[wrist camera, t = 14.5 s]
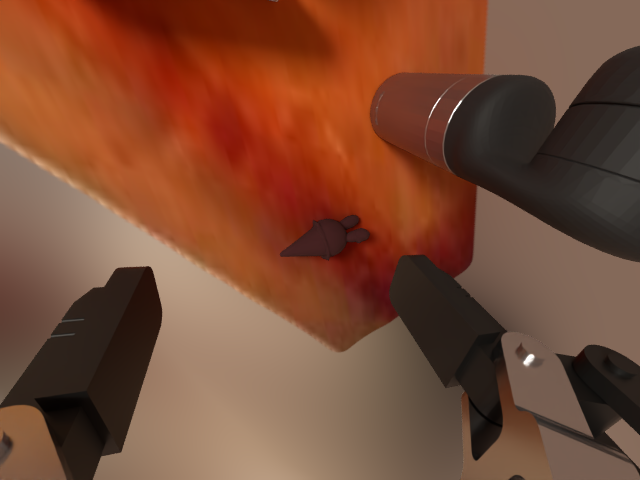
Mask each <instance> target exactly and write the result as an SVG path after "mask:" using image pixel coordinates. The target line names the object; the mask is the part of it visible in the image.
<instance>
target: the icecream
mask: <svg viewBox="0 0 640 480" xmlns="http://www.w3.org/2000/svg"><path fill="white" fill-rule="evenodd" d="M358 222H359V218H358V217H357V216H356V215H351V216H347V217H346V218H344V219H343V220H341V221H340V222H338V221H335V220H332V219H324V220H320V221H318V222H316V221H314V220H313V227H312V229H311V230H309V231H308V232H307V233H305V234H304V235H303V236H302V237H300V238H299V239H298V240H297V241H295V242H294V243H293V244H291V245H290V246H289V247H287V248H286V249H285V250H283V251H282V252H281V253H280V256H281V257H290V256H321V258H323V259H326V260H329V258H330V257H331V256H334V255H336V254H338V253H340V252H341V251H342V250H343V249H344V248H345V245H346V243H347V242H357V243H361V242H362V241H365V240H367V239H368V238H369V235H370V233H369V232H368V231H367V230H366V229H363V228H359V229H356V230H354V231H351V232H349V233H347V232H346V230H347V229H349V228H352V227H354V226H355V225H356V224H358Z"/></svg>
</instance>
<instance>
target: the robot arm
mask: <svg viewBox="0 0 640 480" xmlns="http://www.w3.org/2000/svg"><path fill="white" fill-rule="evenodd" d="M370 117H371V123H372V127H373V129H374V131H375V132H376V134H377V135H378V136H379V137H380V138H382V139H383V140H385V141H387V142H389V143H391V144H393V145H395V146H397V147H399V148H401V149H403V150H405V151H407V152H409V153H411V154H413V155H415V156H417V157H420V158H422V159H424V160H426V161H428V162H430V163H432V164H434V165H436V166H438V167H440V168H442V169H444V170H446V171H448V172H451V173H453V174H455V175H456V176H458V177H460V178H463V179H465V180H467V181H469V182H471V183H474V184H476V185H478V186H480V187H482V188H484V189H486V190H488V191H490V192H492V193H494V194H496V195H498V196H500V197H502V198H504V199H506V200H507V201H509V202H511V203H513V204H514V205H516V206H517V207H519V208H521V209H523V210H525V211H526V212H528V213H530V214H531V215H533V216H535V217H537V218H538V219H540V220H541V221H543V222H545V223H546V224H548V225H550V226H552V227H553V228H555V229H557V230H559V231H561V232H563V233H564V234H566V235H568V236H570V237H572V238H574V239H576V240H578V241H580V242H582V243H584V244H586V245H589V246H591V247H594V248H596V249H598V250H600V251H602V252H605V253H608V254H611V255H613V256H616V257H619V258H622V259H626V260H631V261H635V262H640V46H637V47H634V48H630V49H627V50H625V51H623V52H621V53H619V54H617V55H615V56H613V57H612V58H610V59H609V60H607V61H606V62H605V63H604V64H602V66H601V67H600V68H599V69H598V70H597V71H596V72H595V73H594V74H593V76H592V77H591V78H590V79H589V80H588V82H587V83H586V84H585V86H584V87H583V88H582V90H581V91H580V93H579V94H578V95H577V97H576V98H575V99H574V101H573V102H572V103H571V105H570V106H569V109H568V110H567V111H566V112H565V113H564V115H563V116H562V118H561V119H560V121H559V122H558V123H557V125H556V126H555V128H554V123H555V117H556V106H555V100H554V96H553V94H552V92H551V90H550V88H549V87H548V86H547V85H546V84H545V83H544V82H543V81H541V80H539V79H537V78H535V77H532V76H525V75H476V74H436V73H399V74H396V75H394V76H392V77H390V78H389V79H387V80H386V81H385V82H384V83H383V84H382V85H381V86H380V87H379V89H378V90H377V92H376V94H375V96H374V98H373V101H372V105H371V111H370ZM389 294H390V300H391V303H392V305H393V307H394V308H395V310H396V311H397V313H398V314H399V316H400V318H401V319H402V321H403V322H404V324H405V325H406V327H407V328H408V330H409V331H410V333H411V335H412V336H413V338H414V339H415V341H416V342H417V344H418V345H419V347H420V349H421V350H422V352H423V353H424V355H425V357H426V358H427V360H428V361H429V363H430V364H431V366H432V367H433V369H434V371H435V372H436V374H437V375H438V377H439V378H440V380H441V382H442V383H443V384H444V386H445V388H449V387H453V386H458V385H461V386H462V387H463V389H464V390H465V391H464V393H463V394H462V397H461V405H462V429H463V431H462V432H463V457H464V463H463V471H462V475H461V478H460V480H640V469H639V468H638V466H637V465H636V464H635V463H634V462H633V461H632V460H631V459H630V458H629V457H628V456H627V455H626V454H625V453H624V452H623V451H622V450H621V449H620V448H619V447H618V445H617V444H616V443H615V442H614V441H613V440H612V439H611V438H610V437H609V436H608V435H607V434H606V433H605V431H606V430H607V429H609V428H610V427H611V426H612V425H614V424H615V423H616V422H618V421H619V420H620V419H622V418H623V419H624V420H625V421H626V422H627V423H628V424H629V425H630V426H631V427H632V428H633V429H634V430H635V431H636V432H637V433H638V434H639V435H640V366H638V365H637V364H636V363H634V362H633V361H631V360H630V359H628V358H627V357H625V356H623V355H622V354H620V353H618V352H616V351H614V350H611V349H609V348H606V347H603V346H599V345H588V346H586V347H585V348H584V349H583V350H582V351H581V352H580V353H579V354H578V356H576V357H574V356H567V355H561V354H555V353H554V352H553V351H552V350H550V349H549V348H548V347H547V346H546V345H544V344H543V343H542V342H540V341H538V340H536V339H535V338H533V337H531V336H528V335H526V334H523V333H519V332H507V331H506V330H505V329H504V328H503V327H502V326H501V325H500V324H499V323H498V322H497V321H496V320H495V319H494V318H493V317H492V316H491V315H490V314H489V313H488V312H487V311H486V310H485V309H484V308H483V307H482V306H481V305H480V304H479V303H478V302H477V301H476V300H475V299H474V298H473V297H472V298H471V297H470V294H469V293H467V291H466V290H464V289H462V288H461V286H460V285H459V284H458V283H457V282H456V281H455V280H454V279H453V278H452V277H451V276H450V275H448V274H447V273H445V272H444V271H442V270H440V269H439V268H437V267H436V266H435V265H434V264H433V263H432V262H431V261H430V260H429V259H428V258H427V257H426V256H425V255H404V256H402V257H401V258H400V259H399V262H398V265H397V268H396V271H395V274H394V277H393V280H392V283H391V286H390V291H389ZM161 321H162V307H161V302H160V298H159V294H158V290H157V286H156V282H155V278H154V274H153V271H152V269H151V267H149V266H146V267H124V268H117V269H116V270H115V271H114V272H113V274H112V276H111V277H110V279H109V281H108V282H107V284H106V285H105V287H100V288H93V289H91V290H90V291H89V292H87V293H86V294H85V295H83V296H82V297H81V298H79V299H78V300H77V301H75V302H74V303H73V305H72V306H71V307H70V309H69V310H68V312H67V313H66V314H65V316H64V317H63V319H62V323H59V324H58V326H57V327H56V328H55V330H54V331H53V333H52V334H51V338H50V339H47V341H46V342H45V344H44V345H43V346H42V348H41V349H40V351H39V352H38V353H37V355H36V356H35V357H34V359H33V360H32V362H31V363H30V365H29V366H28V367H27V369H26V370H25V372H24V373H23V374H22V376H21V377H20V378H19V380H18V381H17V383H16V384H15V385H14V387H13V388H12V389H11V391H10V392H9V394H8V395H7V396H6V398H5V399H4V401H3V402H2V403H1V405H0V480H93V477H94V474H95V472H96V469H97V466H98V463H99V461H100V458H101V456H105V455H110V454H115V453H120V452H121V451H122V448H123V445H124V441H125V438H126V435H127V432H128V429H129V426H130V422H131V419H132V416H133V413H134V409H135V407H136V403H137V400H138V397H139V394H140V391H141V387H142V384H143V381H144V378H145V374H146V372H147V368H148V365H149V362H150V359H151V356H152V352H153V349H154V346H155V343H156V340H157V337H158V333H159V330H160V327H161Z"/></svg>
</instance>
